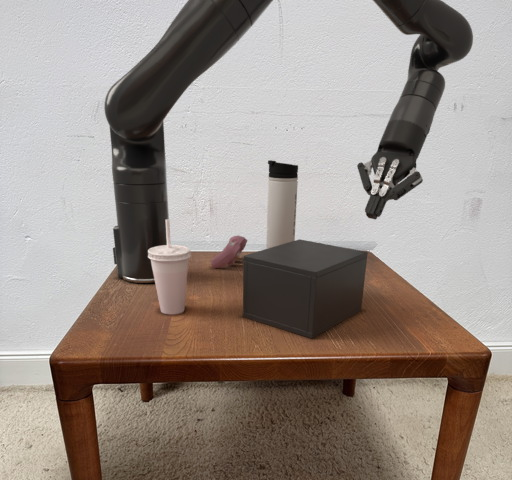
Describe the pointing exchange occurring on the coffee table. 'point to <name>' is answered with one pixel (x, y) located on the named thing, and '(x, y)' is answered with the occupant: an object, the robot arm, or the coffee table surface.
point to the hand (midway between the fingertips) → (370, 217)
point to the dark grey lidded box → (303, 286)
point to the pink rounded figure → (230, 252)
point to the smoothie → (170, 274)
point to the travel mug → (281, 203)
